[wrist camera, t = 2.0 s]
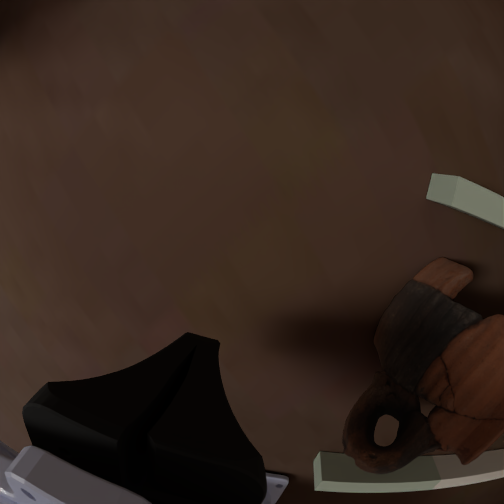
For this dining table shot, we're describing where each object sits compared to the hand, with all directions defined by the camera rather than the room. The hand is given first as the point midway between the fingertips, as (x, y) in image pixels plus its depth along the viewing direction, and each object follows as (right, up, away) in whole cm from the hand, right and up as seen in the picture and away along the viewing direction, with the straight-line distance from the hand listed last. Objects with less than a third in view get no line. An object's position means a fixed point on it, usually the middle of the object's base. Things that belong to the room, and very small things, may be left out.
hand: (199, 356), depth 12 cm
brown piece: (+12, -1, +3) cm, 12 cm away
